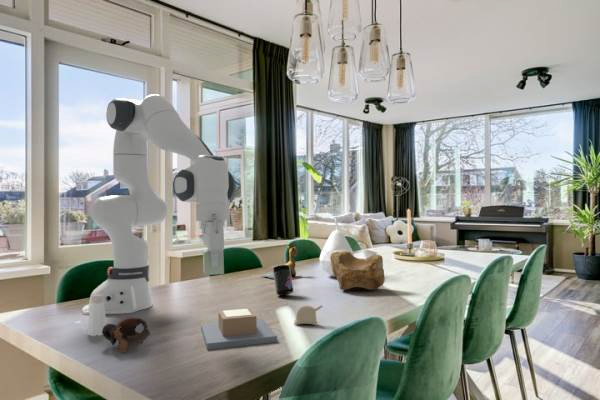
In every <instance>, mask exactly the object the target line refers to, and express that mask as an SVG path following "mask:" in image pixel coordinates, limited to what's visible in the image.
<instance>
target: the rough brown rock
mask: <svg viewBox="0 0 600 400" xmlns="http://www.w3.org/2000/svg"><path fill="white" fill-rule="evenodd" d="M330 259H331V266H332V270H333V274H334V275H335V276H336V280H337V282H338V285H339V289H340V290H341V291H342V290H343V291H344V290H350V289H352V288H364V289H366V290H369V291H372V290H373V291H374V290H376V289H377V290H378V289H379V288H381V287H382V286H384V283H385V269H384V263H383V262H384V261H383V260H384V258H383V256H382V255H381V254H373V255H371V256H369V257H366V259H365V258H358V257H355V255H354V256H353V255H352V254H351V253H350V252H347V251H344V252H334V253H332V254H331V257H330Z"/></svg>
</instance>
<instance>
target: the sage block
mask: <svg viewBox="0 0 600 400" xmlns="http://www.w3.org/2000/svg"><path fill="white" fill-rule="evenodd" d="M224 254H225V253H224V250H223V251H219V259H218V267H212V266H211V251H209V250H208V249H207V250H206V249H205V250H202V266H203V267H202V272H203V274H204V276H213V275H214V276H215V275H224V274H225V265H224V262H225V261H224V258H225V257H224Z"/></svg>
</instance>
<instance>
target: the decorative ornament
mask: <svg viewBox="0 0 600 400" xmlns="http://www.w3.org/2000/svg"><path fill="white" fill-rule="evenodd" d="M322 308H323V305H319V306H317V307H315V308H314V307H313V306H311V305H308V304H304V305H301V306H300V307H298V309H297V311H296V315H295V320H294V321H293V322H294V323H293V325H294V326H296V325H301V324H303V325H314V326H318V321H317V313H316V312H317V311H318V310H321V309H322Z"/></svg>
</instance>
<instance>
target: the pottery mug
mask: <svg viewBox="0 0 600 400" xmlns="http://www.w3.org/2000/svg"><path fill="white" fill-rule="evenodd" d="M106 324H107V323H106ZM140 325H142V326H143V330H142V331H141V332H138V331H136V329H137V326H140ZM102 334H103V335H102V336H103V337H104V338H105V339H106V340H107V341H109V342H110V344H111V345H112V346H114V345H116V344H117V341H118V345H119V347H118V352H119V353H123V354H125V353H126V352H127V350H130V349H133V348H134V347H137V346H139V345H141V344H143V343H144V341H146V340H147V339H148V337H149V336H151V333H150V330H149V329H148V324H147V322H146V321H145V320H144V319H142V318H140V317H133V316H132V317H127V318H123V319H121V320H120V321H119V322H118V323H116V324H114V323H108V324H107V325H105V326H104V328H103V330H102Z"/></svg>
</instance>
